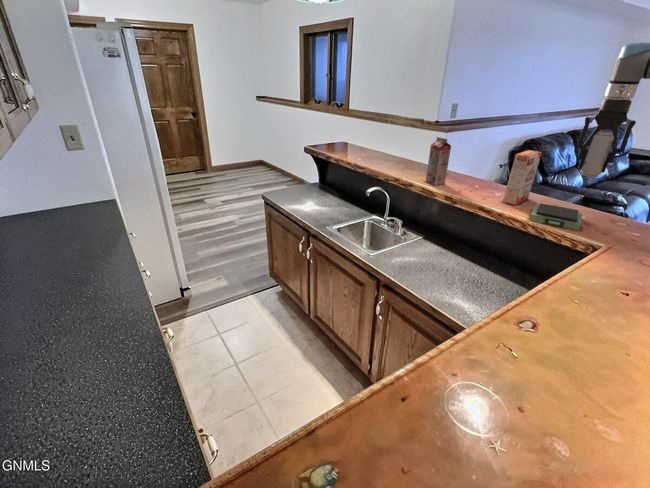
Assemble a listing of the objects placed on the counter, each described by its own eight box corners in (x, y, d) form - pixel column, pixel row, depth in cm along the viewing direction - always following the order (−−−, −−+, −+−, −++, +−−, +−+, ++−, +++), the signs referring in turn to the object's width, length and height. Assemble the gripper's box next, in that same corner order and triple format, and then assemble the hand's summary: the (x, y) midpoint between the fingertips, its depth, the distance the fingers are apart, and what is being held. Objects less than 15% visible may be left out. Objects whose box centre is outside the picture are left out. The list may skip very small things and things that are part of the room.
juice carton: (434, 185, 172) (442, 139, 162) (425, 181, 178) (432, 137, 168) (444, 183, 175) (452, 138, 165) (435, 180, 180) (442, 136, 170)
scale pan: (577, 212, 134) (578, 210, 134) (576, 221, 125) (577, 219, 125) (539, 204, 141) (540, 203, 140) (536, 213, 132) (536, 211, 132)
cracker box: (516, 206, 147) (530, 156, 138) (502, 202, 151) (514, 153, 142) (529, 199, 156) (542, 151, 146) (515, 195, 160) (527, 149, 150)
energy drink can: (580, 172, 126) (595, 129, 119) (600, 175, 123) (617, 131, 116) (577, 175, 122) (593, 130, 115) (598, 178, 119) (616, 133, 112)
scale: (580, 218, 135) (582, 212, 134) (578, 231, 124) (581, 225, 123) (533, 209, 144) (535, 204, 142) (528, 221, 132) (530, 215, 131)
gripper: (582, 97, 113) (558, 167, 124) (658, 101, 104) (625, 177, 114) (582, 96, 119) (560, 163, 129) (654, 100, 109) (624, 172, 120)
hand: (591, 170), depth 122 cm, fingers closed on energy drink can, 6 cm apart
